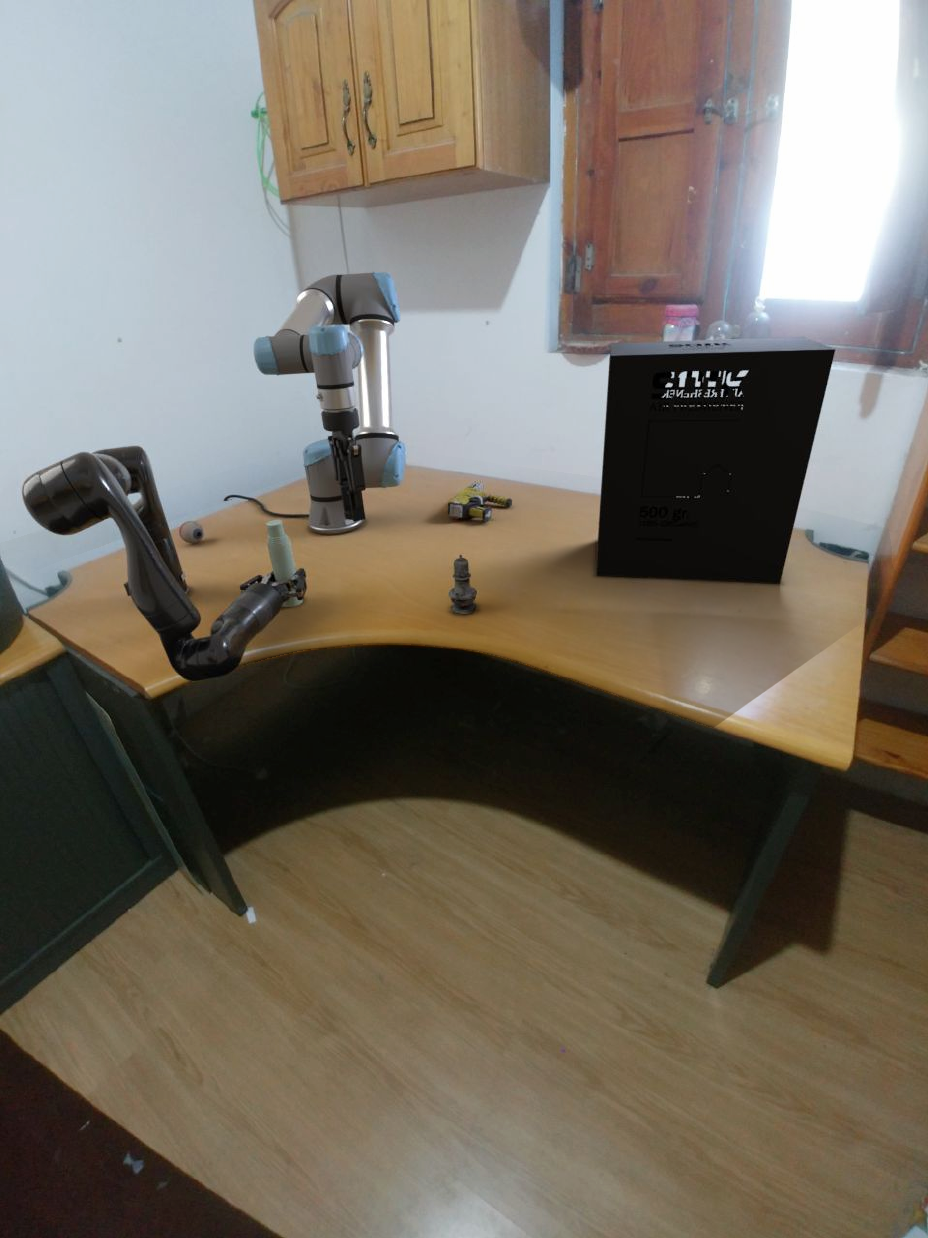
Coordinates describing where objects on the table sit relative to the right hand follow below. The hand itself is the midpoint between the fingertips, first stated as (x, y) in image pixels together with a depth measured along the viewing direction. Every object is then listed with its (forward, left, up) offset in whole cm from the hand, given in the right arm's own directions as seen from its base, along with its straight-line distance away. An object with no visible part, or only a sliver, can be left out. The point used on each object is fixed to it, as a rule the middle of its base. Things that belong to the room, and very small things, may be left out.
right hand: (354, 516), depth 135 cm
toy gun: (-14, +47, -14) cm, 51 cm away
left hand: (+1, -17, -8) cm, 19 cm away
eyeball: (-48, -26, -14) cm, 56 cm away
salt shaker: (+30, +7, -14) cm, 34 cm away
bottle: (+3, -19, -14) cm, 24 cm away
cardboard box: (+45, +58, -14) cm, 75 cm away
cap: (0, 0, +2) cm, 2 cm away
